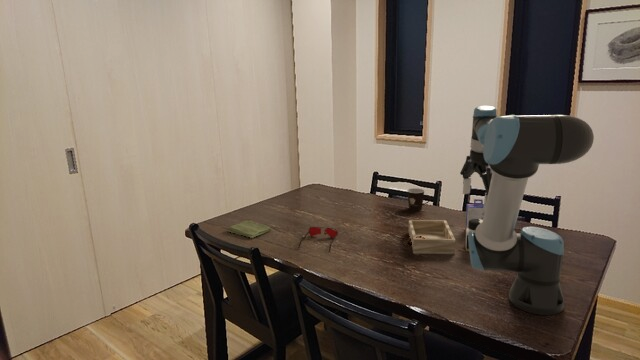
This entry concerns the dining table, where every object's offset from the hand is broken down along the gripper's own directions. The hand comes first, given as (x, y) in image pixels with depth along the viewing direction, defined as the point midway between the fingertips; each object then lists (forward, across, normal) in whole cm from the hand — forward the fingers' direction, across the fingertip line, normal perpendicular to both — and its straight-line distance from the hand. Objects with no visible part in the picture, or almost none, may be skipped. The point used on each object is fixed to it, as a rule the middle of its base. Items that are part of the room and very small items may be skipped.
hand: (476, 201), depth 162 cm
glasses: (+22, +26, +57) cm, 67 cm away
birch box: (+22, +10, +13) cm, 28 cm away
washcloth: (+24, +50, +84) cm, 101 cm away
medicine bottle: (+22, 0, -1) cm, 22 cm away
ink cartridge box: (+25, +14, -12) cm, 32 cm away
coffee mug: (+30, +49, -1) cm, 58 cm away
